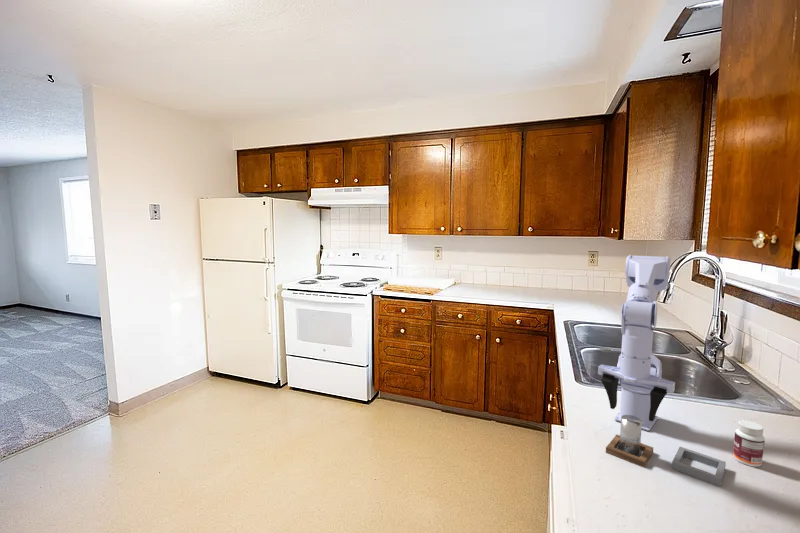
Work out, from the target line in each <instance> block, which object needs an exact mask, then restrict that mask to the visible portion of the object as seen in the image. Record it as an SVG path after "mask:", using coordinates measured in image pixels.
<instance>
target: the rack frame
mask: <svg viewBox="0 0 800 533" xmlns="http://www.w3.org/2000/svg"><path fill="white" fill-rule="evenodd" d="M684 457H685V458H688V459H689V460H692V461H695V462H698V463H702V464H705V465H707V466H710V467H713V468H715V469H716V472H715V474H713V473H711V472H707V471H705V470H702V469H700V468H696V467H694V466H691V465H688V464H686V463H683V462H682V461H683V459H684ZM726 463H727V462H726V461H724V460H721V459H718V458H716V457H712V456H709V455H708V454H707V455H706V454H703V453H700V452H697V451H695V450H691V449H689V448H686V447H682V446H679V447H678V449H677V451H676V454H675V455H674V458H673V459H672V462H671V469H672V470H675V471H677V472H679V473H683V474H686V475H688V476H691V477H693V478H695V479H699V480H702V481H704V482H707V483H710V484H712V485H715V486H717V487H721V485H722V482H723V479H724V475H725V471H726V465H727V464H726Z"/></svg>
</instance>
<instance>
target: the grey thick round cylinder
mask: <svg viewBox="0 0 800 533" xmlns="http://www.w3.org/2000/svg"><path fill="white" fill-rule="evenodd" d="M642 430H643V429H642V420H641V419H639V418H638V417H635V416H632V415H623V416H621V422H620V432H619V436H620V444H619V445H618V446H619V448H618V449H619V450H622V451H624V452H627V453H629V454H632V455H635V456H637V457H640V456H641V455H640V454H641V451H640V443H641V442H642V441H641V440H642Z"/></svg>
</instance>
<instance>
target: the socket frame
mask: <svg viewBox="0 0 800 533" xmlns="http://www.w3.org/2000/svg"><path fill="white" fill-rule="evenodd" d="M619 445H620V434H615V436H614V437H612V439H611V441H610V442H609V443H608V444H607V445H606V447H605V453H606V454H609V455H611V456H614V457H616V458H618V459H621V460H624V461H627V462H629V463H631V464H635V465H637V466H640V467H642V468H645V467H646V465H647V464H648V462H649V460H650V458H651V457H652V455H653V453H654V447H653V446H649V445H648V444H644V443H640V452H642V453H640V454H641V455H640V456H639V457H637V456H635V455H632V454H629V453H627V452H624V451H622V450H619V448H618V446H619Z"/></svg>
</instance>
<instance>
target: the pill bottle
mask: <svg viewBox="0 0 800 533" xmlns="http://www.w3.org/2000/svg"><path fill="white" fill-rule="evenodd" d="M763 434H764V426H762V425H761V424H759V423H757V422H754V421H752V420H751V421H750V420H746V419H740V420H738V421H737V428H736V429H735V431H734V440H733V449H732V456H733V458H734V459H735V461H738V462H739V463H740V464H743V465H746V466H750V467H755V468H758V467H761V466H762V464H763V456H764V450H765V449H764V447H765V436H764V435H763Z"/></svg>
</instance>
